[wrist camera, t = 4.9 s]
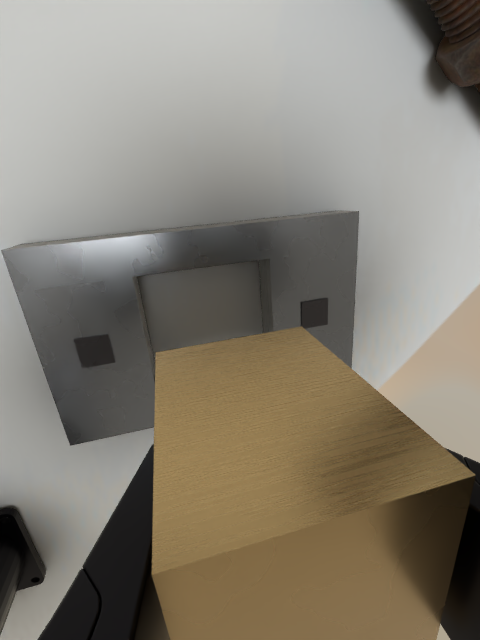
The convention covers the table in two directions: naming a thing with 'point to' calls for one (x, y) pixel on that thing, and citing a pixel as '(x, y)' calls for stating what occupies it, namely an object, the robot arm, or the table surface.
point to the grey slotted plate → (128, 313)
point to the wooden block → (296, 498)
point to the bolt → (459, 40)
